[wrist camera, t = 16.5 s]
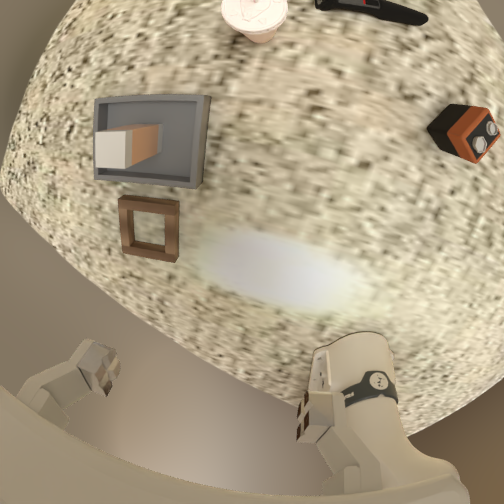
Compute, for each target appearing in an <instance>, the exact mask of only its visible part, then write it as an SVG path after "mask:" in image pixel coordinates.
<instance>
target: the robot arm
mask: <svg viewBox="0 0 504 504" xmlns="http://www.w3.org/2000/svg"><path fill="white" fill-rule="evenodd" d="M116 354H117V353H116V350H115V349H113V348H111V347H108V346H106V345H103V344H100V343H97V342H96V341H93V340H90V339H88V338H86V339H84V340H83V341H82V342H81V344H80V345H79V347H78V348H77V349H76V351H75V352H74V353H73V355H72V356H71V358H70V359H69V361H68V362H62V363H60V364H58V365H56V366H54V367H51V368H49V369H47V370H45V371H43V372H41V373H38V374H36V375H34V376H32V377H30V378H28V379H27V381H26V382H25V384H24V385H23V387H22V388H21V390H20V391H19V392H18V394H17V396H16V397H14V396H13V395H12V394H11V393H9V392H8V391H7V390H6V389H4V388H3V387H2V386H1V385H0V504H470V498H469V493H468V490H467V488H466V487H465V486H464V485H463V484H462V483H461V482H460V478H459V474H458V471H457V470H456V468H455V467H454V466H453V465H452V464H451V463H449V462H447V461H445V460H442V459H436V458H432V457H429V456H427V455H425V454H423V453H421V452H419V451H418V450H417V449H416V448H415V447H413V445H412V444H411V443H410V442H409V440H408V439H407V436H406V434H405V432H404V428H403V425H402V422H401V419H400V415H399V412H398V407H397V404H398V396H397V391H396V389H395V384H396V379H395V373H394V368H393V363H392V361H393V360H394V353H393V352H392V351H391V350H390V349H389V345H388V341H387V340H386V338H385V337H383V336H382V335H380V334H377V333H372V332H361V333H355V334H351V335H348V336H346V337H343V338H341V339H339V340H337V341H336V342H334V343H333V344H331V345H329V346H325V347H322V348H319V349H317V350H315V351H314V354H313V361H312V367H311V372H310V378H309V384H308V389H309V390H310V391H306V393H305V394H304V399H303V400H301V402H300V404H299V407H298V412H297V420H298V422H299V423H300V424H299V426H298V428H297V436H296V442H304V443H316V446H317V448H318V449H319V451H320V453H321V454H322V456H323V457H324V459H325V461H326V463H327V464H328V466H329V468H330V469H331V471H332V472H333V474H334V475H333V476H331V477H330V478H328V479H327V480H325V481H324V482H323V483H322V495H319V496H284V495H283V496H282V495H267V494H257V493H248V492H240V491H233V490H227V489H221V488H216V487H211V486H206V485H201V484H197V483H193V482H189V481H185V480H181V479H178V478H174V477H171V476H167V475H164V474H161V473H158V472H155V471H152V470H149V469H146V468H143V467H140V466H137V465H135V464H132V463H130V462H127V461H125V460H122V459H120V458H118V457H115V456H113V455H111V454H108V453H106V452H104V451H102V450H100V449H98V448H96V447H94V446H92V445H90V444H88V443H86V442H84V441H82V440H80V439H78V438H76V437H75V436H73V435H71V434H69V433H67V432H66V431H64V430H65V428H66V426H67V424H68V422H69V417H68V416H67V415H66V413H65V412H64V411H63V410H65V409H66V408H68V407H69V406H71V405H72V404H74V403H75V402H77V401H79V400H80V399H81V398H83V397H84V396H86V395H88V394H89V393H91V391H93V392H95V393H98V394H100V395H103V396H105V397H107V396H108V394H109V392H110V390H111V388H112V381H113V380H115V379H117V377H118V375H119V372H120V361H119V360H118V358H117V357H116Z"/></svg>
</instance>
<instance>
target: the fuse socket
mask: <svg viewBox="0 0 504 504" xmlns="http://www.w3.org/2000/svg"><path fill="white" fill-rule="evenodd" d="M118 208H119V222H120V233H121V242H122V251H123V253H125V254H130V255H135V256H141V257H146V258H151V259H156V260H162V261H167V262H173V263H175V262H176V260H177V258H178V257H179V201H174V200H166V199H157V198H149V197H140V196H131V195H123V196H122V197H120V198H119V199H118ZM133 210H135V211H143V212H150V213H158V214H165V246H162V245H156V244H151V243H145V242H139V241H135V236H134V221H133Z"/></svg>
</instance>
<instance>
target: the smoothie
mask: <svg viewBox="0 0 504 504" xmlns="http://www.w3.org/2000/svg"><path fill="white" fill-rule="evenodd" d="M221 12H222V15H223V18H224V20H225V22H226V23H227V24H228V25H229V26H230V27H231V28H233V29H234V30H236V31H239V32H241V33H243V34H244V35H245V36H246V37H248V38H249V39H250V40H251V41H253V42H256V43H265V42H268V41H270V40H271V39H272V38H273V37H274V35H275V33H276V31H277V28H278V26H280V25H281V24H282V23H283V21H284V20H285V19H286V16H287V13H288V5H287V0H223V1H222V4H221Z"/></svg>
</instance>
